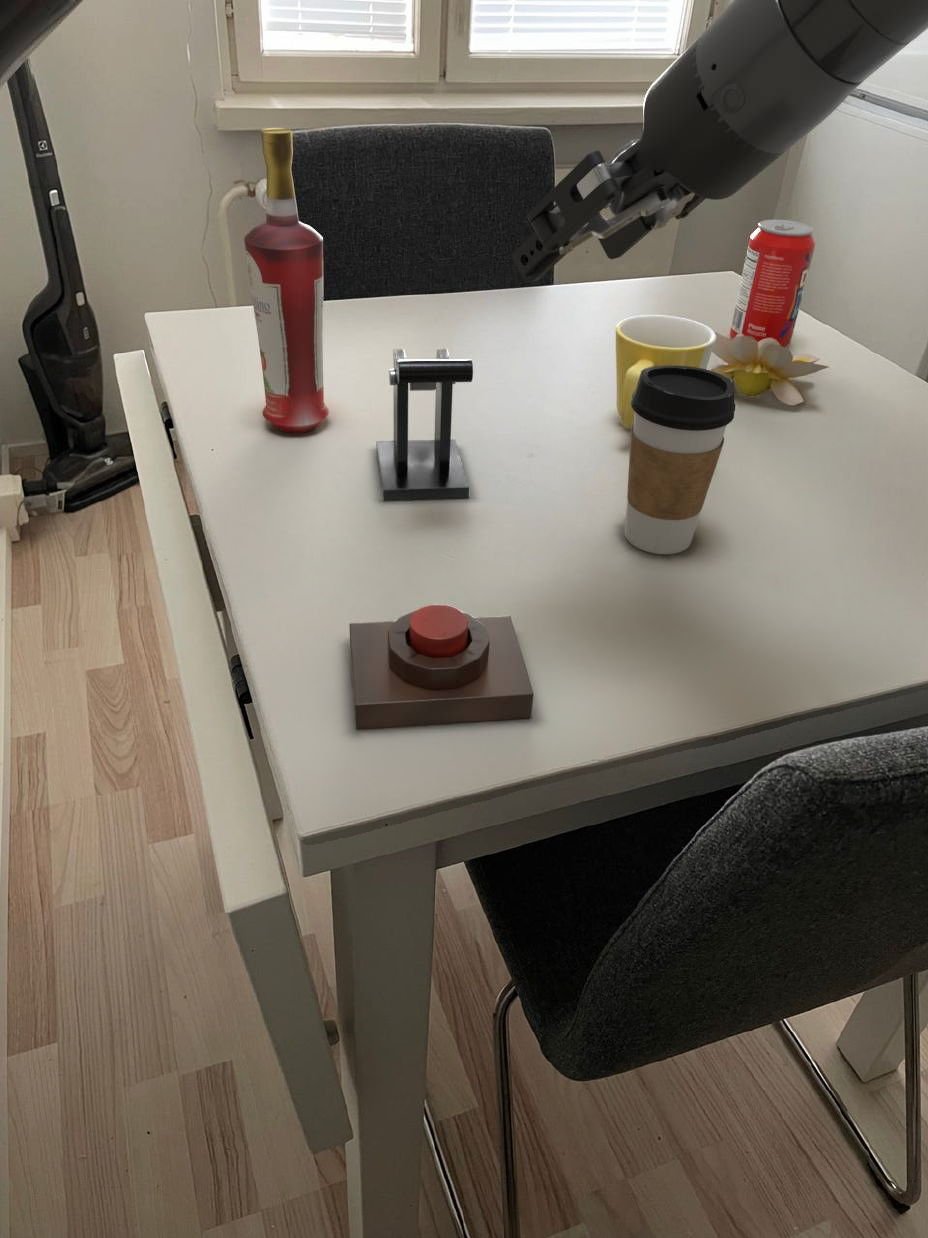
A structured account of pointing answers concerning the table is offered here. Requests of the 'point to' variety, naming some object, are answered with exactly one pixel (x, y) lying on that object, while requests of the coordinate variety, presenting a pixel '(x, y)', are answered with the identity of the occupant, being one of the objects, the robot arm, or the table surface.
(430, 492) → the lever stand
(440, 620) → the button
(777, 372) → the decorative flower
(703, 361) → the mug
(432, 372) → the tap lever
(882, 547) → the table surface
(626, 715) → the table surface
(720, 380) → the coffee cup
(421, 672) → the button block
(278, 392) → the liquor
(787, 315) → the soda can
